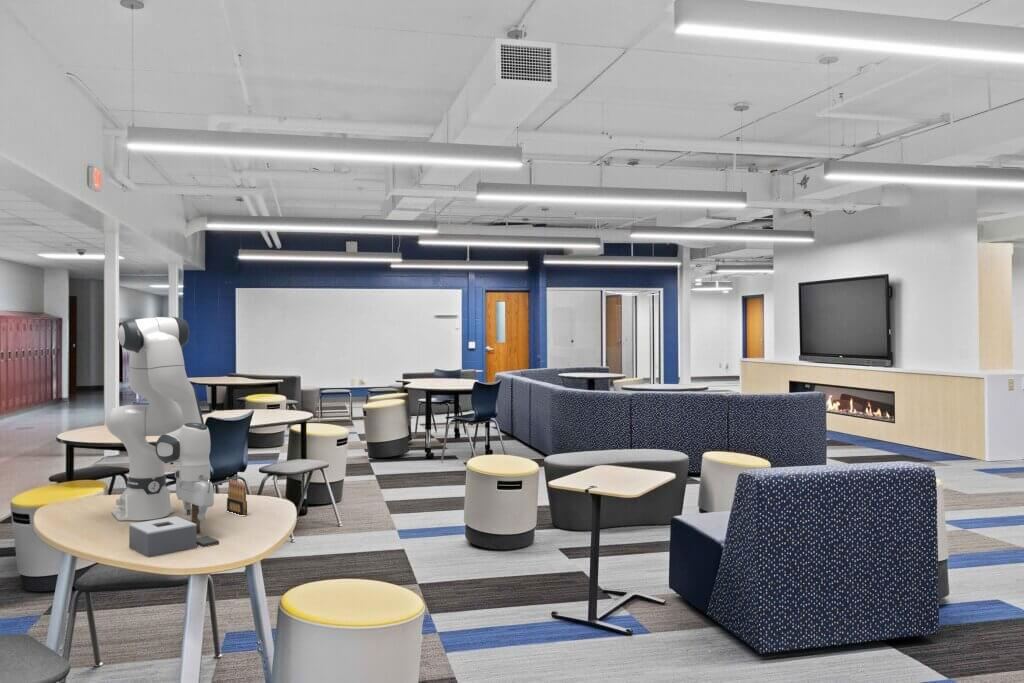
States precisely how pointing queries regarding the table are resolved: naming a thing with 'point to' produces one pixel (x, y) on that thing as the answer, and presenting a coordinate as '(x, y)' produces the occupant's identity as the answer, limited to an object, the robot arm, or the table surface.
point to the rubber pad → (206, 541)
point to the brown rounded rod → (195, 517)
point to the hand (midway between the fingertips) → (194, 517)
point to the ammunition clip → (237, 498)
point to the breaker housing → (162, 536)
